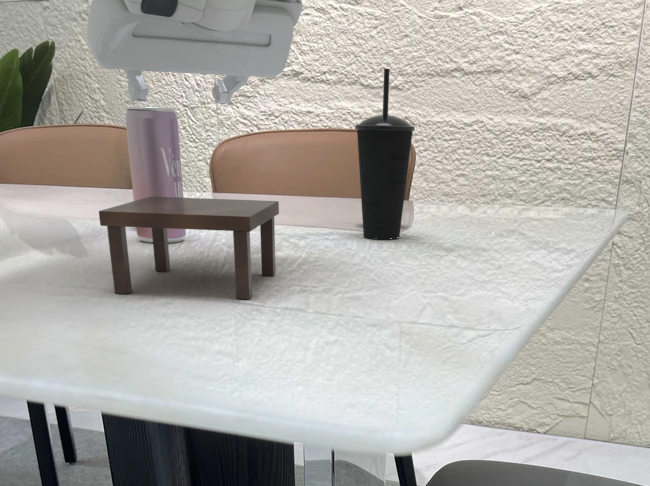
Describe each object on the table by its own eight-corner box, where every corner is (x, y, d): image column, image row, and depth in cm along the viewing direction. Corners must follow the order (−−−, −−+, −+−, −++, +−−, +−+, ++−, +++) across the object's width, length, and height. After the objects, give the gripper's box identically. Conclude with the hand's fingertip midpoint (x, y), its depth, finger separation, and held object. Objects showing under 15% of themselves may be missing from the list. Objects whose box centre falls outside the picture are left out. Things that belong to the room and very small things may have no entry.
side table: (108, 294, 68) (98, 211, 65) (156, 268, 80) (150, 196, 77) (252, 300, 67) (249, 216, 64) (280, 273, 79) (278, 201, 76)
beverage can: (161, 235, 100) (150, 107, 94) (196, 239, 98) (187, 108, 91) (127, 240, 96) (113, 106, 89) (162, 245, 93) (150, 107, 86)
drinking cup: (383, 231, 109) (389, 71, 100) (421, 238, 103) (430, 69, 95) (341, 235, 104) (343, 67, 95) (378, 243, 99) (384, 66, 90)
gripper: (296, -33, 77) (256, 79, 89) (90, -61, 67) (75, 70, 78) (319, 15, 76) (275, 123, 87) (112, -6, 65) (93, 119, 77)
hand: (179, 97), depth 83 cm, fingers open, 8 cm apart
